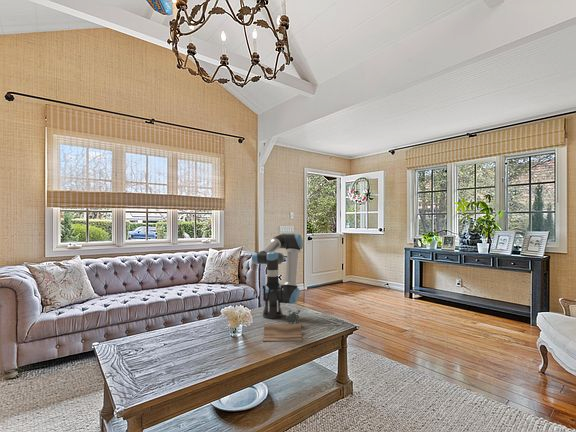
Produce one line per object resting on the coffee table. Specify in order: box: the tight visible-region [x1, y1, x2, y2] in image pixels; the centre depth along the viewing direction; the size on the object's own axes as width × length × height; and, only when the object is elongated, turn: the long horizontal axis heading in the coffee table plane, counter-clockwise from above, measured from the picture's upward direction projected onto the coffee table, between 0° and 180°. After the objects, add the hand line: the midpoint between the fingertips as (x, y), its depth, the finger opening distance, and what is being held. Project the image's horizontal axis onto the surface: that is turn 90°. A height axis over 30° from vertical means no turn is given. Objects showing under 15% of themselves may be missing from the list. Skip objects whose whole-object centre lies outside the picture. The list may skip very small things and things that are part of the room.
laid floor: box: [262, 334, 303, 343], centre depth 194 cm, size 9×24×1 cm, turn 91°
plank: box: [263, 323, 302, 337], centre depth 202 cm, size 9×24×1 cm
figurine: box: [285, 309, 303, 327], centre depth 216 cm, size 11×11×12 cm
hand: (273, 311), depth 204 cm, fingers open, 5 cm apart
